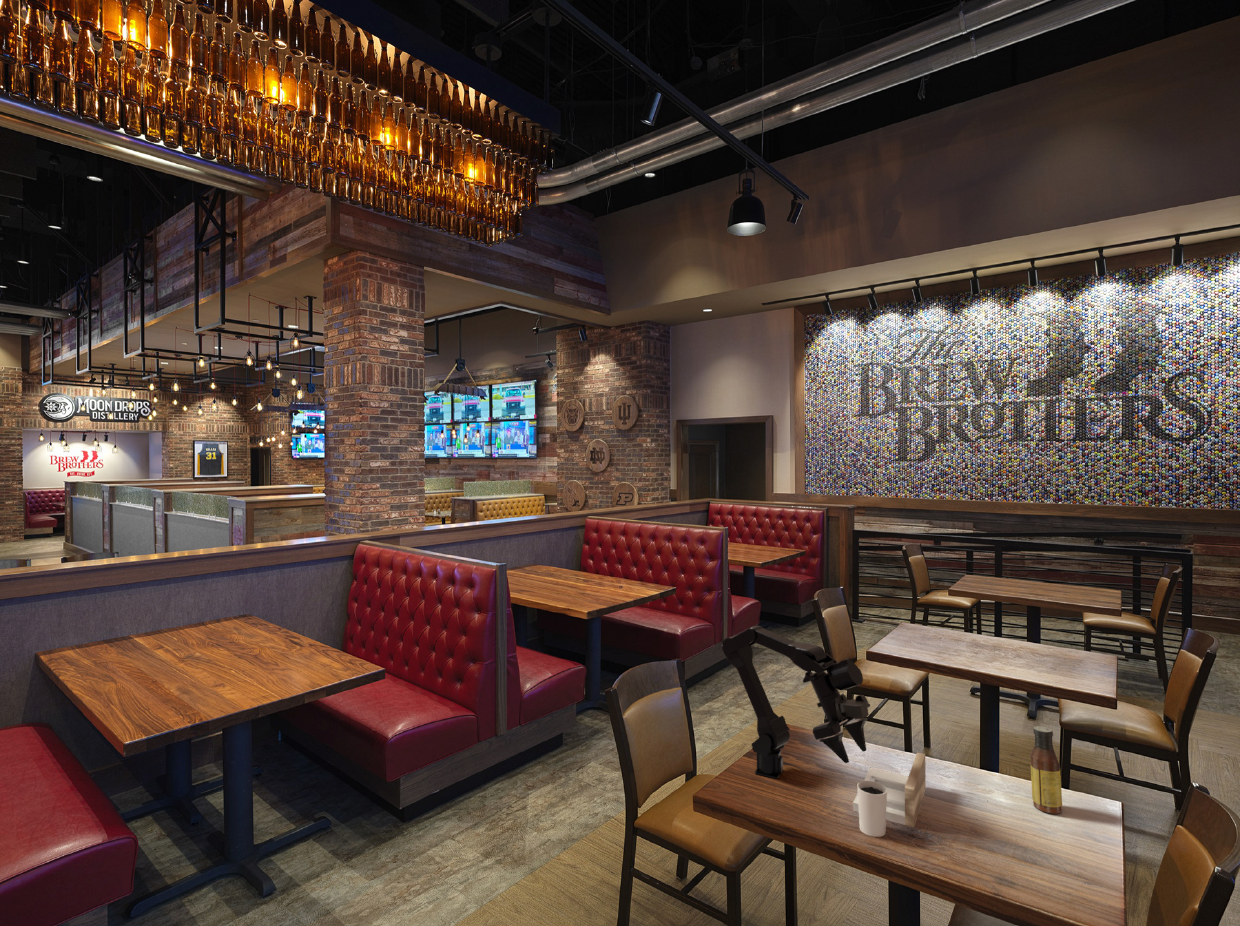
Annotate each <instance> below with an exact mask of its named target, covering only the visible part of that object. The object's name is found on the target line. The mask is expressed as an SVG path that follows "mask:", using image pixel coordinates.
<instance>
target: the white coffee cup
mask: <svg viewBox="0 0 1240 926" xmlns="http://www.w3.org/2000/svg"><path fill="white" fill-rule="evenodd" d="M856 784H857V785H856V786H857V793H858V806H859V812H858V822H859V830H860V831H861V832H862V833H863V834H865V835H866V836H869V837H875V838H880V837H883V836H884V835H886V829H887V820H886V807H887V788H886V787H885V786H884V785H882V784H880V783H878V782H874V781H864V780H861V781H859V782H858V783H856Z"/></svg>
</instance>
